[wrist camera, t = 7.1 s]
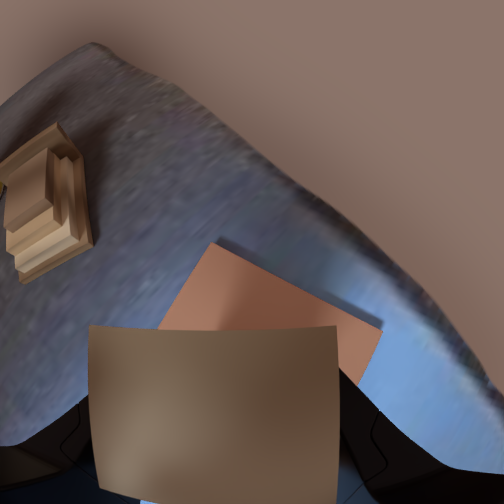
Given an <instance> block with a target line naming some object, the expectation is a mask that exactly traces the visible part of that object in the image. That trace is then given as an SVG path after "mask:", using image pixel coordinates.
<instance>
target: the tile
mask: <svg viewBox="0 0 504 504" xmlns="http://www.w3.org/2000/svg"><path fill="white" fill-rule="evenodd" d="M334 325H336V326H337V341H338V361H339V368H340V369H341V370H342V371H343V372H344V373H345V374H346V375H347V376H348V377H349V378H350V379H351V380H352V381H353V383H354V384H355V385H356V386H357V385H358V383H359V382H360V380H361V378H362V376H363V374H364V372H365V370H366V368H367V366H368V363H369V361H370V359H371V357H372V355H373V353H374V351H375V349H376V346H377V344H378V342H379V340H380V337H381V335H382V333H383V331H381V330H379V329H377V328H375V327H373V326H372V325H370V324H368V323H366V322H364V321H362V320H360V319H358V318H356V317H354V316H352V315H350V314H348V313H346V312H344V311H342V310H340V309H338V308H336V307H335V306H333V305H331V304H329V303H327V302H325V301H323V300H321V299H319V298H317V297H315V296H313V295H311V294H309V293H308V292H306V291H304V290H302V289H300V288H298V287H296V286H294V285H292V284H290V283H288V282H286V281H284V280H283V279H281V278H279V277H277V276H275V275H273V274H271V273H269V272H267V271H265V270H264V269H262V268H260V267H258V266H256V265H254V264H252V263H250V262H248V261H246V260H245V259H243V258H241V257H239V256H237V255H235V254H233V253H231V252H229V251H228V250H226V249H224V248H222V247H220V246H218V245H216V244H214V243H212V242H211V243H210V245H209V247H208V248H207V250H206V251H205V253H204V254H203V256H202V257H201V259H200V261H199V262H198V264H197V265H196V267H195V268H194V270H193V272H192V273H191V275H190V276H189V278H188V280H187V281H186V283H185V284H184V286H183V288H182V289H181V291H180V292H179V294H178V296H177V297H176V299H175V301H174V302H173V304H172V305H171V307H170V309H169V310H168V312H167V314H166V315H165V317H164V319H163V320H162V322H161V324H160V325H159V327H158V329H159V330H201V331H226V330H269V329H290V328H307V327H321V326H334Z"/></svg>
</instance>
